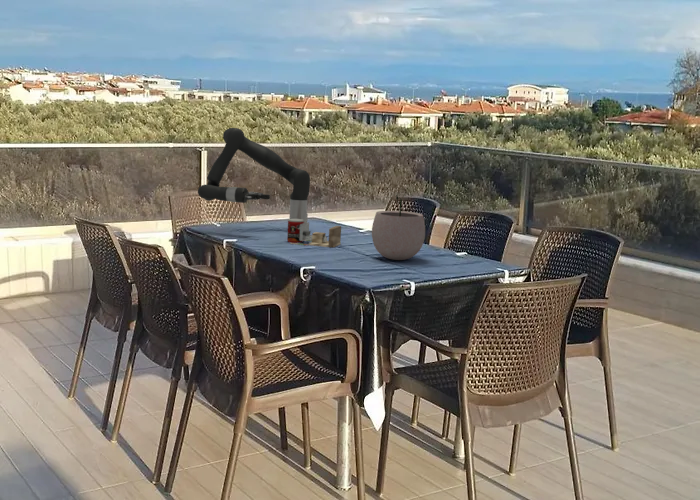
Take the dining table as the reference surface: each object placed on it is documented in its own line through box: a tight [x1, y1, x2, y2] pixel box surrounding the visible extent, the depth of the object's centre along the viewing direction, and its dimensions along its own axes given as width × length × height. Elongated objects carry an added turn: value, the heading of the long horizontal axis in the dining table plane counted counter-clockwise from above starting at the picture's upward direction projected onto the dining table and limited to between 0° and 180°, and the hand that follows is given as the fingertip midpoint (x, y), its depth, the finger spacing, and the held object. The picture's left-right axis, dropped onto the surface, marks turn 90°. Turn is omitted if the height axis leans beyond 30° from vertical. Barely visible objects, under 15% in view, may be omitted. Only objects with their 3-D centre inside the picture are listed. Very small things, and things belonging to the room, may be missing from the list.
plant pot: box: [371, 193, 426, 261], centre depth 366 cm, size 24×24×30 cm
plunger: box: [299, 221, 328, 242], centre depth 399 cm, size 12×9×8 cm
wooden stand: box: [289, 225, 342, 248], centre depth 399 cm, size 22×15×9 cm
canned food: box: [286, 218, 304, 244], centre depth 402 cm, size 8×8×11 cm
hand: (269, 197), depth 403 cm, fingers closed
